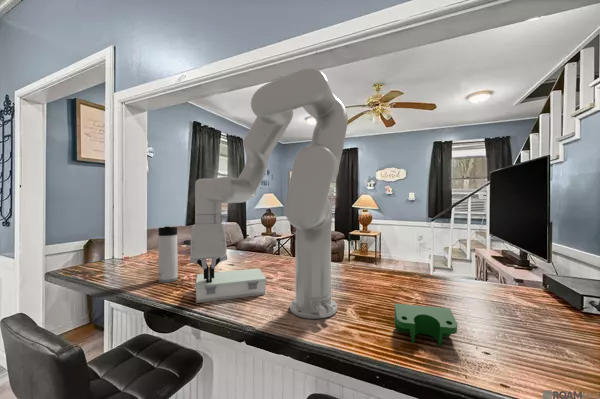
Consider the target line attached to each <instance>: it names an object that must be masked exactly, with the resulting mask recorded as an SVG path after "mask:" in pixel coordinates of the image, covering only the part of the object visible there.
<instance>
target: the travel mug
mask: <svg viewBox="0 0 600 399" xmlns="http://www.w3.org/2000/svg"><path fill="white" fill-rule="evenodd" d="M157 229H158V240H157V241H158V246H157V249H158V256H157V257H158V261H157V264H158V265H157V266H158V282H159V283H162V284H165V283H166V284H167V283H172V282H176V281H177V280H178V277H179V276H178V274H179V273H178V270H179V269H178V266H179V265H178V264H179V263H178V258H179V257H178V227H177V226H170V225H169V226H163V227H158V228H157Z"/></svg>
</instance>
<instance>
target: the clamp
mask: <svg viewBox="0 0 600 399" xmlns="http://www.w3.org/2000/svg"><path fill="white" fill-rule="evenodd" d="M394 327H395V329H396V331H398V332H401V333H407V334H408V333H409V336H410V341H411V343H413V344H414V343H415V341H416V335H427V336H431V337H433V339H435V340H436V341H437V344H438V346H439V347H442V346H443V337H444V338H448V337H450V336H451V335H453V334H457V332H458V323H457V321H456V318H455V317H454V314H453V312H452V310H451V308H448V307H436V306H426V305H425V306H424V305H416V304H404V303H394Z"/></svg>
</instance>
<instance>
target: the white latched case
mask: <svg viewBox="0 0 600 399" xmlns="http://www.w3.org/2000/svg"><path fill="white" fill-rule="evenodd" d="M266 282H267V281H266ZM266 282H258V284H249V285H248V284H239V285H230V286H221V287H216V288H213V289H205V288H202V289H195V291H196V292H195V299H196V300H195V303H196V304H198V303H205V302H214V301H221V300H229V299H230V300H231V299H237V298H238V299H239V298H248V297H255V296H263V295H266V290H267V289H266V284H267V283H266Z"/></svg>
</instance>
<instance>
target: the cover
mask: <svg viewBox="0 0 600 399" xmlns="http://www.w3.org/2000/svg"><path fill="white" fill-rule="evenodd" d="M258 282H267V277H266V276H265V275H264V273H263V271H262V270H261V269H260V268H250V269H239V270H229V271H227V270H226V271H218V272H217V271H214V278H212V282H207V283H206V279H204V273H197V275H196V280H195V287H194V288H195V290H196V289H202V288H205V289H213V288H216V287H221V286H230V285H239V284H248V285H249V284H258Z"/></svg>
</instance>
